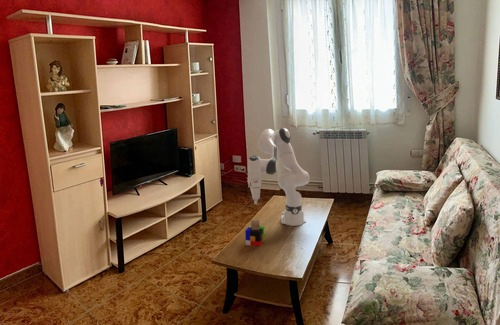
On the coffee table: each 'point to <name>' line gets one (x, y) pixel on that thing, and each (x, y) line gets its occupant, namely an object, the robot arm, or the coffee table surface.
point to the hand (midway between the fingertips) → (254, 201)
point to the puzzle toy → (254, 236)
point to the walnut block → (255, 224)
